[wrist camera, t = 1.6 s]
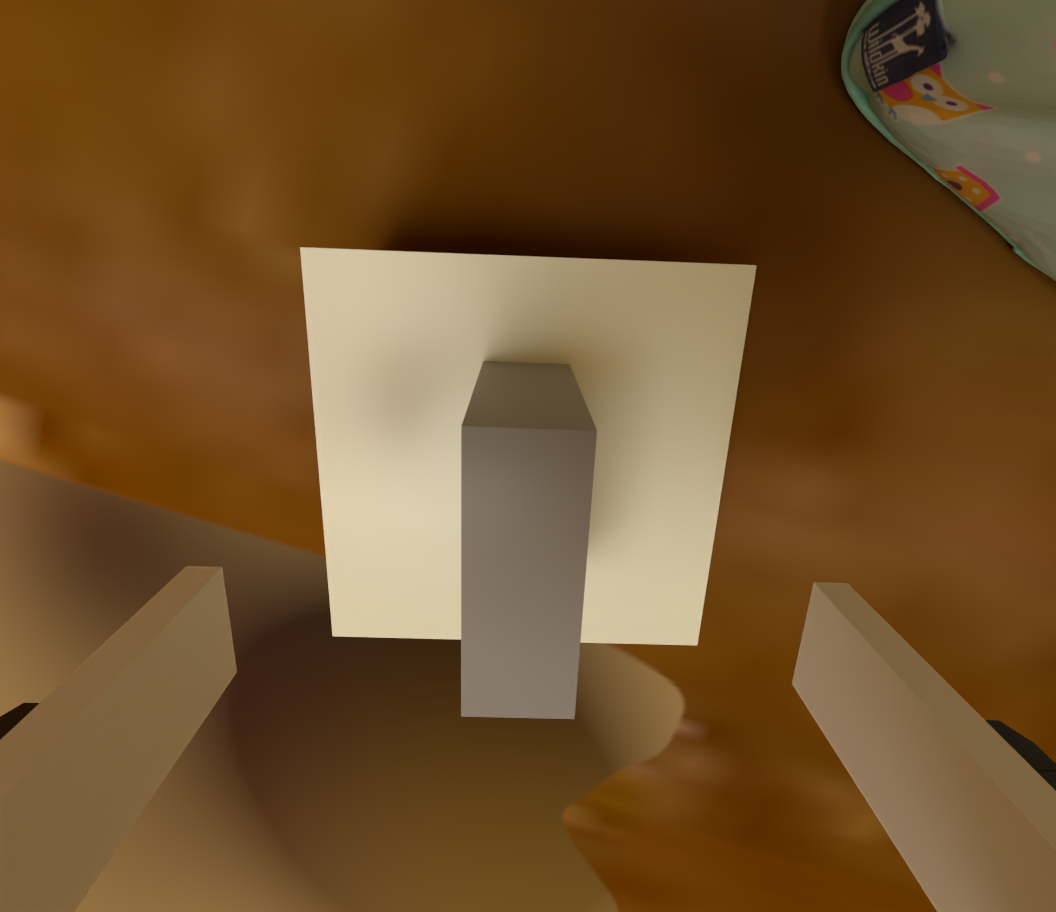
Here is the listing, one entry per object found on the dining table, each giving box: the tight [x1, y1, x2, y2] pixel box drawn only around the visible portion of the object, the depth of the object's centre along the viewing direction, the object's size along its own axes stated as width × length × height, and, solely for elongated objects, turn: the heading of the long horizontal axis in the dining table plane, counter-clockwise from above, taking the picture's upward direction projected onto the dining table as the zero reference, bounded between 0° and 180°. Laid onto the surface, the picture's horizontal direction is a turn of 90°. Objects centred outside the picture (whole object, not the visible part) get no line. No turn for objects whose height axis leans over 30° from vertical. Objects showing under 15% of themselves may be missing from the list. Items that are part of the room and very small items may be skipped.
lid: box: [300, 247, 757, 719], centre depth 19 cm, size 15×15×10 cm
